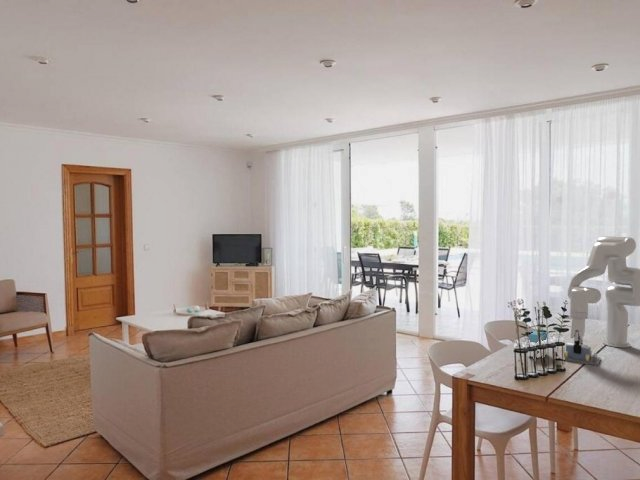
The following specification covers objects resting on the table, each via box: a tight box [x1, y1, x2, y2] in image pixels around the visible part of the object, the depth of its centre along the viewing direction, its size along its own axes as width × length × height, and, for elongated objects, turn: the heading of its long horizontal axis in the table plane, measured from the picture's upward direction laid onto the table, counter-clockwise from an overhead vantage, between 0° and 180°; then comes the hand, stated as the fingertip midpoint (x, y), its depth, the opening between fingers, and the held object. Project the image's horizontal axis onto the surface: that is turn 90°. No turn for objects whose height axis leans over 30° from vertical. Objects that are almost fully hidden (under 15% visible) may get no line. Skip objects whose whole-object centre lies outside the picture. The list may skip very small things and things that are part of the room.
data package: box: [528, 330, 548, 354], centre depth 234 cm, size 12×4×12 cm, turn 133°
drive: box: [565, 342, 592, 360], centre depth 228 cm, size 4×10×6 cm, turn 53°
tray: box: [564, 350, 602, 367], centre depth 228 cm, size 12×18×4 cm, turn 54°
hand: (578, 351), depth 228 cm, fingers open, 4 cm apart
